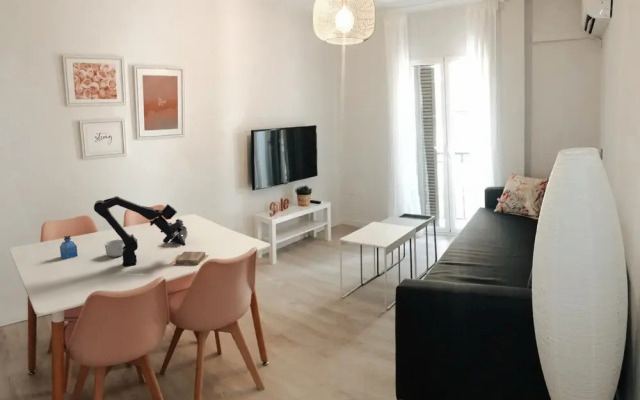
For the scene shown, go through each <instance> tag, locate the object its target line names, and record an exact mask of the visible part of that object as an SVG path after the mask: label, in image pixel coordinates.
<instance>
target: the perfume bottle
mask: <svg viewBox="0 0 640 400" xmlns="http://www.w3.org/2000/svg"><path fill="white" fill-rule="evenodd" d="M77 246H78V245H77V244H76V243H75V242H74V241H72V237H71V235H65V236H64V237H63V242H61V243H60V246H59V253H60V258H62V259H66V260H70V259H73V258H77V257H78V255H79V254H78V247H77Z"/></svg>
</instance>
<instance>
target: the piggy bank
mask: <svg viewBox="0 0 640 400" xmlns="http://www.w3.org/2000/svg"><path fill="white" fill-rule="evenodd" d="M182 227H183V229H182V230H181V237H182V239H183V241H184V242H185V243H186V239H187V237H188V230H187V229H188V228H187V227H186V226H185V225H184V224H183V225H182ZM173 244H174V245H177V244H176V243H173Z"/></svg>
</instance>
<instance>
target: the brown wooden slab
mask: <svg viewBox="0 0 640 400" xmlns="http://www.w3.org/2000/svg"><path fill="white" fill-rule="evenodd" d="M179 255H180V256H179V257H178V258H177V259H176V264H196V265H195V266H199V265H198V264H199V263H200V262H201V260H202V259H203V258H204V257H205V255H206V251H183V252H182V253H181V254H179Z"/></svg>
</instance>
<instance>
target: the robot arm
mask: <svg viewBox="0 0 640 400" xmlns="http://www.w3.org/2000/svg"><path fill="white" fill-rule="evenodd" d="M115 206H118V207H121V208H124V209H127V210H129V211H132V212H134V213H137V214H139V215H140V216H142V217H143V218H145V219H146V220H149V223H150V224H149V226H150V227H152V226H153V225H154V226H156V227H157V228H158V229H159V230H160V233H163V234H164V235H165V237H164V238H163V239H162V243H164V244H165V245H167V244H168V243H169V242H170V243H173V244H174V243H176V244H175V245H180V246H183V247H185V246H186V241H185V242H184V241H183V239H182V237H181V230H182V229H183V227H182V225H183V226H184V221H183V220H182V219H180V218H178V219H176V220H175V222H169V221H167V220H171V219H172V218H173V217H174V216H175V215H177V213H178V211H177V210H176V209H175V208H174V207H173V206H171V205H170V204H168V203H167V204H166V205H165V207H164V208H162V209H155V208H153V207H152V206H151V207H150V206H144V205H140V204H137V203H134V202H132V201H130V200H126V199H124V198H122V197H119V196H117V195H115V196H113V197H110V198H106V199H104V200H101V199H98V200H96V202H94V204H93V210H94V212H95V213H96V214H98V215H99V216H100V217H102V218H103V219H104V220H105V221H106V222H107V223H108V225H110V226H111V228H112V229H113V230H114V231H115V233H116V234H117V235H118V237H120V240H122V241H123V243H124V245H125V246H124V247H123V253H122V255H121V256H122V267H129V266H137V263H138V260H137V254H136V250H137V249H138V248H139V245H138V239H137V238H136V237H135V236H134V235H135V234H133V233H131V234H129V233H127V231H126V230H125V228H123V226H122V225H121V224H120V222H119V221H118V220H117V219H116V218H115V216H113V214H112V212H111V211H110V208H113V207H115Z"/></svg>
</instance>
